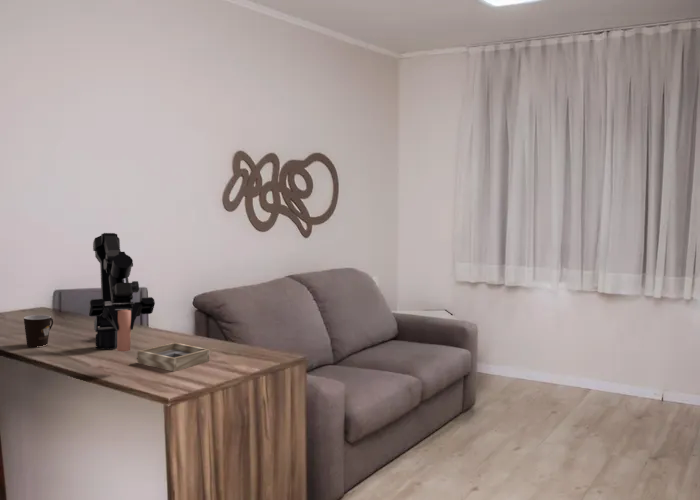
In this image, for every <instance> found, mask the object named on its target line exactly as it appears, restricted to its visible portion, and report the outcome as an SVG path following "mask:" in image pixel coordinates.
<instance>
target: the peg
mask: <svg viewBox="0 0 700 500" xmlns="http://www.w3.org/2000/svg"><path fill="white" fill-rule="evenodd" d="M118 328H119V329H118V331H117V347H116V351H117V352H130V351H131V345H132V344H131V342H132V341H131V339H132V338H131V335H132V333H131V332H132V330H131V310H119V311H118Z"/></svg>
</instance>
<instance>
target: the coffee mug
mask: <svg viewBox="0 0 700 500" xmlns="http://www.w3.org/2000/svg"><path fill="white" fill-rule="evenodd" d="M23 323H24V331H25V339H26V347H27V346H28V347H27V348H31V347H37V346H43V345H46V344H48V343H49V335H50V330H51V329H52V328H53V325H54V319H53V318H52V316H51V315H46V314H35V315H34V314H33V315H26V316H24V317H23Z"/></svg>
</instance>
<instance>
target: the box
mask: <svg viewBox="0 0 700 500" xmlns="http://www.w3.org/2000/svg"><path fill="white" fill-rule="evenodd" d="M210 351H211V349H209V348H204V347H200V346H194V345H188V344H186V343H185V344H184V343H180V342H176V341H175V342H170V343H167V344H162V345H161V344H160V345H157V346H153V347H150V348H149V347H148V348H144V349H140V350H137V364H140V365H145V366H148V367H153V368H158V369H162V370H165V371H171V372H177V371H180V370H184V369H186V368H190V367H194V366H197V365H201V364H205V363H208V362H210Z"/></svg>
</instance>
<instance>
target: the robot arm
mask: <svg viewBox="0 0 700 500" xmlns="http://www.w3.org/2000/svg"><path fill="white" fill-rule="evenodd" d="M120 241H121V240H120V237H118V234H117V233H115V232H103V233H101V235H99V236H97V237H94V240H93V242H92V251H93V252H94V257H95V259H96V260H97V261H98V262H99V265H100V266H99V268H100V288H101V289H100V291H101V292H100V293H101V296H100V297H101V298H92V299H90V300H89V305H88V315H89V317H94V321H93V323H94V324H93V327H94V328H93V329H94V331H95V332H96V334H95V347H94V349H97V350H115V349H117V331H118V329H119V328H118V311H119V310H125V309H131V331H132V330H133V329H134V325H135V322H136V319H137V317H140V316H141V315H150V314H153V311H154V308H155V304H156V302H155V299H154V297H151V296H147V297H144V296H143V297H142V296H141V297H140V299H139V301H138V302H137V301H132V300H133V299H134V296H133V294H134V293H138V292H139V291H140V284H139V280H138V281H137V280H135V281H133V280H132V281H131V282H129V277H130V275H131V271H132V267H134V261H133V258H132V257H131V256H130V255H128V254H127V253H126V252H125V251H122V250H121V245H120V244H121V242H120Z"/></svg>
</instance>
